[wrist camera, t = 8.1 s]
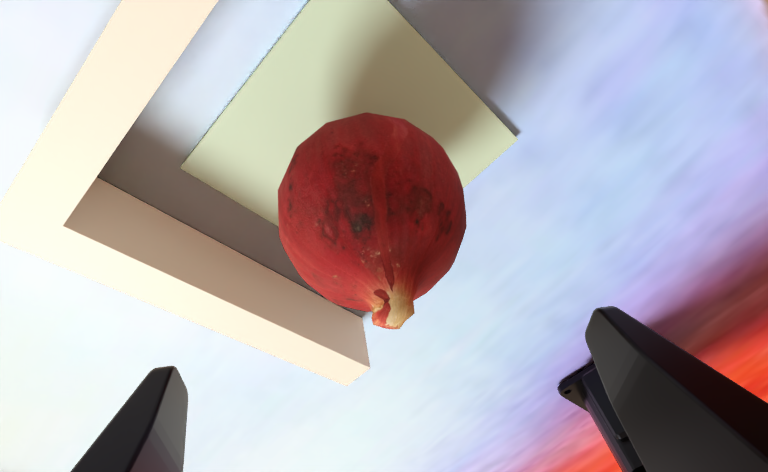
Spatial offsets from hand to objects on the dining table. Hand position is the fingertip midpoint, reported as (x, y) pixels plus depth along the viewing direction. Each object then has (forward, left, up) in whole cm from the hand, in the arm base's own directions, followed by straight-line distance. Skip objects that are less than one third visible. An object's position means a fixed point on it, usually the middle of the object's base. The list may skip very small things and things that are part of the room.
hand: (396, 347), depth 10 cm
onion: (0, 0, -9) cm, 9 cm away
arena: (0, 0, -10) cm, 10 cm away
